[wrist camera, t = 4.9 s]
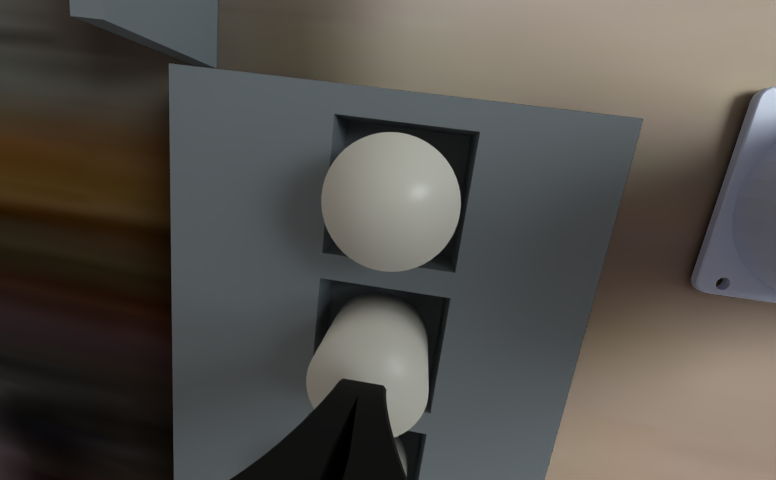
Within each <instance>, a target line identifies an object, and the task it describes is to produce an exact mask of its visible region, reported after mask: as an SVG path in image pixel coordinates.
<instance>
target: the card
mask: <svg viewBox="0 0 776 480" xmlns="http://www.w3.org/2000/svg"><path fill="white" fill-rule="evenodd" d="M69 3H70V16H72V17H74V18H77V19H79V20H82V21H84V22H86V23H89V24H91V25H94V26H96V27H99V28H101V29H104V30H106V31H109V32H111V33H114V34H116V35H119V36H121V37H124V38H126V39H129V40H131V41H134V42H136V43H139V44H141V45H144V46H146V47H149V48H151V49H154V50H156V51H158V52H161V53H163V54H166V55H168V56H171V57H173V58H176V59H178V60H181V61H183V62H186V63H188V64H191V65H193V66H199V67H207V68H216V69H217V23H218V0H69Z"/></svg>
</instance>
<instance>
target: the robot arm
mask: <svg viewBox="0 0 776 480" xmlns="http://www.w3.org/2000/svg"><path fill="white" fill-rule="evenodd" d="M720 278H722V283H721V284H720V285H718V286H716V282H717V281H718V280H719V279H720ZM691 284H692V286H693V287H694V288H695V289H697V290H699V291H701V292H704V293H709V294H716V295H723V296H730V297H736V298H743V299H750V300H757V301H764V302H771V303H776V87H770V88H765V89H762V90H760V91H758V92H757V93H756V94H754V95H753V97H752V99H751V101H750V103H749V106H748V109H747V112H746V115H745V118H744V121H743V124H742V127H741V130H740V133H739V136H738V139H737V142H736V145H735V148H734V151H733V154H732V157H731V160H730V163H729V166H728V169H727V172H726V175H725V178H724V181H723V184H722V187H721V190H720V193H719V196H718V199H717V202H716V205H715V208H714V211H713V214H712V217H711V220H710V223H709V226H708V229H707V232H706V235H705V238H704V241H703V244H702V247H701V250H700V253H699V256H698V259H697V262H696V265H695V268H694V271H693V274H692V277H691ZM230 480H408V479H407V477H406V474H405V471H404V469H403V466H402V463H401V460H400V457H399V454H398V451H397V447H396V444H395V440H394V437H393V433H392V429H391V425H390V420H389V415H388V409H387V401H386V388H385V387H384V385H379V384H373V383H367V382H361V381H355V380H349V379H344V378H343V379H341V380H340V381H339V382H338V383H337V384H336V385H335V387H334V388H333V389H332V390H331V392H330V393H329V394H328V395H327V396H326V397H325V398H324V400H323V401H322V402H321V403H320V404H319V405H318V406H317V407H316V408H315V409H314V410H313V411H312V412H311V413H310V414H309V415H308V416H307V417H306V418H305V419H304V420H303V421H302V422H301V423H300V424H299V425H298V426H297V427H296V428H295V429H294V430H293V431H291V432H290V433H289V434H288V435H287V436H286V437H285V438H284V439H283V440H281V441H280V442H279V443H278V444H277V445H276V446H274V447H273V448H272V449H271V450H269V451H268V452H267V453H266V454H264V455H263V456H262V457H261V458H259V459H258V460H257V461H255V462H254V463H253V464H251V465H250V466H249V467H247V468H246V469H244V470H243V471H241V472H240V473H238V474H237V475H236V476H234V477H233V478H231V479H230Z"/></svg>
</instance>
